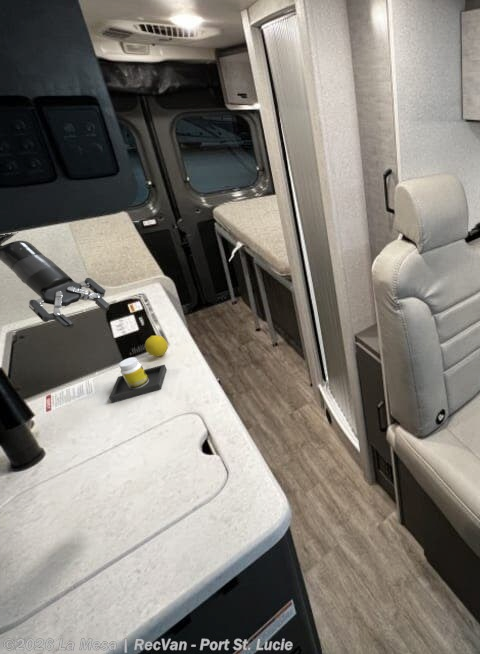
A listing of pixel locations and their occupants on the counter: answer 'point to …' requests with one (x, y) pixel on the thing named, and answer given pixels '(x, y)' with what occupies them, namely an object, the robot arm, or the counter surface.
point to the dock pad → (124, 392)
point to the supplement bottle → (133, 373)
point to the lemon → (156, 345)
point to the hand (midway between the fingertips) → (90, 317)
